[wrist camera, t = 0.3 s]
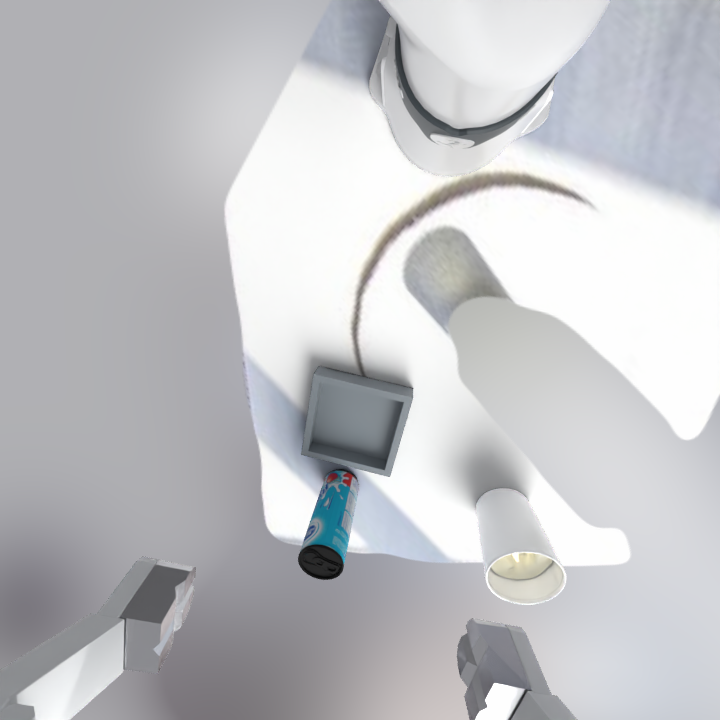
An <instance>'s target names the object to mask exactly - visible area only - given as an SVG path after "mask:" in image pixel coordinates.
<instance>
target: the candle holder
mask: <svg viewBox="0 0 720 720" xmlns="http://www.w3.org/2000/svg"><path fill="white" fill-rule="evenodd" d="M476 516H477V524H478V530H479V537H480V544H481V550H482V557H483V564H484V570H485V581H486V584H487V586H488V587H489V589H490V590H491V591H492V592H493V593H494V594H495V595H496V596H498V597H499V598H501V599H503V600H505V601H508V602H512V603H516V604H523V605H529V604H538V603H542V602H546V601H548V600H550V599H552V598H554V597H555V596H557V595H558V594H559V593H560V592H561V591H562V590H563V588H564V586H565V584H566V572H565V569H564V567H563V565H562V564H561V563H560V561H559V559H558V557H557V555H556V553H555V551H554V549H553V547H552V545H551V543H550V541H549V539H548V537H547V535H546V533H545V531H544V529H543V528H542V526H541V524H540V522H539V520H538V518H537V516H536V514H535V512H534V510H533V508H532V506H531V504H530V503H529V501H528V499H527V498H526V497H525V496H524V495H523V494H522V493H520V492H518V491H516V490H513V489H509V488H497V489H493V490H490V491H488V492H486V493H485V494H483V495H482V496H481V497H480V498H479V500H478V502H477V504H476Z"/></svg>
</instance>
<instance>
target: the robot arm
mask: <svg viewBox="0 0 720 720" xmlns="http://www.w3.org/2000/svg"><path fill="white" fill-rule="evenodd" d="M378 1H379V2H380V3H381V4H382V6H383V7H384V8H385V9H386V10H387V11H388V13H389V14H390V15H391V16H390V17H389V20H388V23H387V28H386V32H385V35H384V38H383V41H382V44H381V47H380V50H379V53H378V56H377V59H376V62H375V65H374V68H373V71H372V74H371V77H370V81H369V90H370V94H371V96H372V97H373V99H374V100H375V102H376V103H377V104H378V105H379V107H380V108H381V109H382V110H383V111H384V112H385V113H386V116H387V118H388V120H389V123H390V126H391V129H392V132H393V135H394V138H395V140H396V142H397V144H398V146H399V148H400V149H401V151H402V152H403V153H404V155H405V156H406V157H407V158H408V159H409V160H410V161H411V162H412V163H413V164H414V165H416V166H417V167H419V168H420V169H422V170H424V171H426V172H428V173H431V174H434V175H438V176H447V177H452V176H460V175H465V174H468V173H471V172H474V171H476V170H478V169H480V168H482V167H484V166H485V165H487V164H488V163H490V162H491V161H492V160H494V159H495V158H496V157H497V156H498V155H499V154H500V153H501V152H502V151H503V150H504V149H505V148H506V147H507V146H508V145H509V144H511V143H512V142H513V141H514V140H515V139H517V138H519V137H522V136H524V135H526V134H528V133H530V132H532V131H534V130H536V129H537V128H539V127H540V126H541V125H542V124H543V123H544V122H545V120H546V119H547V117H548V114H549V110H550V104H551V98H552V96H553V93H554V90H553V86H554V80H555V76H556V74H557V73H558V71H559V70H560V69H561V68H562V67H563V66H564V65H565V64H566V63H567V62H568V61H569V60H570V59H571V58H572V57H573V56H574V55H575V54H576V53H577V52H578V50H579V49H580V48H581V47H582V46H583V44H584V43H585V42H586V41H587V39H588V38H589V37H590V35H591V34H592V32H593V31H594V29H595V28H596V26H597V25H598V23H599V22H600V20H601V18H602V16H603V15H604V13H605V11H606V9H607V7H608V5H609V3H610V1H611V0H378ZM195 575H196V568H195V567H190V566H186V565H181V564H176V563H172V562H167V561H163V560H158V559H153V558H148V557H141V558H140V559H139V560H138V561H136V563H135V564H134V565H133V566H132V568H131V569H130V570H129V572H128V573H127V574H126V576H125V577H124V579H123V580H122V581H121V582H120V584H119V585H118V587H117V588H116V589H115V590H114V592H113V593H112V594H111V596H110V597H109V598H108V600H107V601H106V603H105V604H104V605H103V606H102V608H101V609H100V610H99V612H98V613H97V614H93V613H91V614H89V615H87V616H86V617H84V618H82V619H81V620H79V621H78V622H76V623H74V624H73V625H71V626H70V627H68V628H66V629H65V630H63V631H62V632H60V633H58V634H57V635H55V636H54V637H52V638H50V639H49V640H47V641H45V642H44V643H42V644H41V645H39V646H37V647H36V648H34V649H33V650H31V651H29V652H28V653H26V654H25V655H23V656H21V657H20V658H18V659H16V660H15V661H13V662H12V663H10V664H8V665H7V666H5V667H4V668H2V669H0V720H70V719H71V718H72V717H73V716H74V715H75V714H76V713H78V712H79V711H80V710H81V709H82V708H83V707H84V706H86V705H87V704H88V703H89V702H90V701H91V700H92V699H93V698H95V697H96V696H97V695H98V694H99V693H100V692H101V691H102V690H104V689H105V688H106V687H107V686H108V685H109V684H110V683H111V682H112V681H114V680H115V679H116V678H117V677H118V676H119V675H120V674H122V672H123V669H125V670H132V671H140V672H147V673H155V674H158V673H159V671H160V669H161V667H162V665H163V663H164V661H165V659H166V657H167V655H168V653H169V651H170V649H171V647H172V642H173V633H174V632H175V631H177V630H178V629H179V628H180V627H182V624H183V622H184V620H185V618H186V616H187V614H188V611H189V608H190V606H191V603H192V598H193V595H194V587H193V585H192V582H193V580H194V578H195ZM466 629H467V634H465V635H464V636H462V637H461V639H460V641H459V644H458V651H457V661H458V669H459V674H460V677H461V679H462V680H463V681H464V683H465V684H466V685H467V687H468V688H467V691H466V693H465V701H466V706H467V710H468V714H469V719H470V720H577V719H576V717H575V716H574V715H573V714H572V713H571V712H570V711H569V709H568V708H567V707H566V706H565V705H564V704H563V702H562V701H561V700H560V699H559V698H558V697H557V696H555V695H552V694H551V692H550V690H549V687H548V685H547V683H546V680H545V678H544V676H543V673H542V671H541V669H540V666H539V664H538V661H537V659H536V656H535V654H534V652H533V649H532V647H531V645H530V643H529V640H528V638H527V635H526V633H525V631H524V630H523V629H522V628H521V627H517V626H511V625H504V624H502V623H497V622H491V621H485V620H479V619H473V618H472V619H470V620H469V621H468V623H467V625H466Z"/></svg>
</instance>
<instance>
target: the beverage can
mask: <svg viewBox="0 0 720 720" xmlns="http://www.w3.org/2000/svg"><path fill="white" fill-rule="evenodd" d="M358 490H359V484H358V481H357V479H356V477H355V476H354V475H353V474H352V473H350V472H348V471H346V470H334V471H332V472H330V473H329V474H328V475H327V476H326V477H325V479H324V483H323V486H322V488H321V491H320V494H319V497H318V500H317V503H316V506H315V509H314V512H313V515H312V518H311V521H310V524H309V527H308V530H307V533H306V536H305V539H304V542H303V545H302V548H301V551H300V554H299V557H298V562H299V565H300V567H301V568H302V570H303V571H304V572H306V573H307V574H308V575H310V576H312V577H314V578H318V579H323V580H328V579H333V578H336V577H338V576H339V575H340V574H341V573H342V571H343V567H344V562H345V557H346V552H347V547H348V542H349V537H350V532H351V527H352V521H353V516H354V511H355V506H356V500H357V495H358Z"/></svg>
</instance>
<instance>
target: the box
mask: <svg viewBox="0 0 720 720" xmlns="http://www.w3.org/2000/svg"><path fill="white" fill-rule="evenodd" d="M412 400H413V388H410V387H406V386H402V385H397V384H393V383H389V382H385V381H381V380H376V379H372V378H368V377H364V376H360V375H355V374H351V373H347V372H343V371H339V370H334V369H330V368H326V367H322V366H319V367H318V368H317V370H316V371H315V373H314V375H313V382H312V388H311V395H310V401H309V407H308V414H307V420H306V427H305V433H304V439H303V446H302V452H301V455H304V456H308V457H312V458H316V459H320V460H324V461H328V462H332V463H336V464H340V465H344V466H348V467H352V468H356V469H360V470H364V471H368V472H372V473H376V474H380V475H384V476H388V477H390V475H391V471H392V468H393V465H394V461H395V458H396V454H397V451H398V448H399V444H400V441H401V437H402V434H403V430H404V427H405V424H406V420H407V417H408V413H409V410H410V407H411V403H412Z"/></svg>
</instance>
